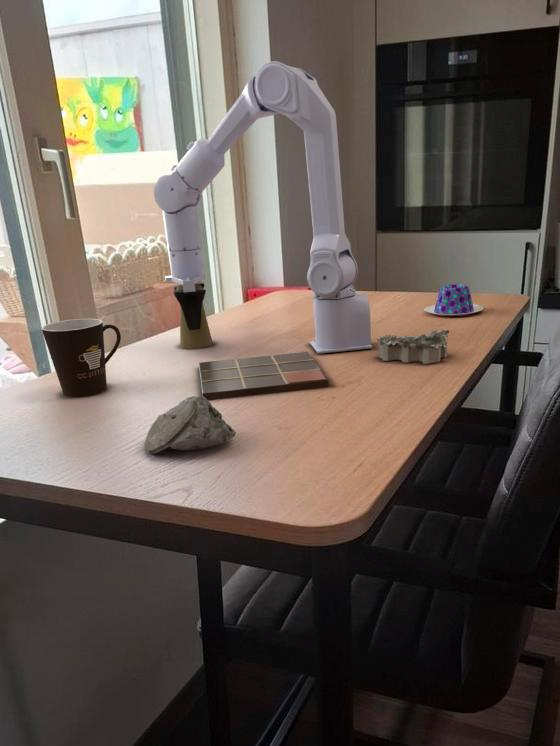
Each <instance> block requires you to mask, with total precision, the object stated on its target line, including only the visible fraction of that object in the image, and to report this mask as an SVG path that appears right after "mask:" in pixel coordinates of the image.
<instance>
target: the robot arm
mask: <svg viewBox="0 0 560 746" xmlns="http://www.w3.org/2000/svg"><path fill="white" fill-rule="evenodd" d="M279 114H281V115H284V116H286V117H287V118H288V119H289V120H290V121H291V122H293V123H294V124H295V125H297V126H298V127H299V128H300V129H301V130H302V131H303V136H304V137H303V138H304V147H305V159H306V168H307V169H306V170H307V179H308V180H307V181H308V191H309V200H310V213H311V223H312V233H313V235H312V236H313V239H312V243H311V247H310V263H309V267H308V270H307V274H306V280H307V284H308V287H309V288H310V290H311V291H312V292H313V293H312V302H313V303H312V304H313V321H314V322H313V323H314V338H315V340H312V341H310V346H311V347H312V348H313V349H314V351H316V353H317V354H329V353H330V354H331V353H339V352H348V351H359V350H369V349H372V348H373V345H372V330H371V329H372V328H371V306H370V301H369V297H368V294H367V293H361V292H360V293H356V289H355V287H354V285H353V284H354V283H355V281H356V279H357V277H358V274H359V273H358V272H359V270H358V269H359V268H358V263H357V261H356V259H355V258H354V256H353V253H352V245H351V242H350V240H349V238H348V236H347V235H346V232H345V231H346V230H345V218H344V216H345V215H344V204H343V191H342V189H343V188H342V177H341V165H340V164H341V163H340V152H339V151H340V150H339V139H338V138H339V137H338V125H337V115H336V111H335V109H334V107H332V105H331V103H330V102H329V100H328V99H327V97H326V96H325V94H324V93H323V90H321V88H320V87H319V83H318V80H317V79H316V78H315V77H313V76H312V75H311V74H309V73H308V72H307V71H306V70H304V69H302V68H300V67H297V66H296V67H295V66H290V65H288V64H285V63H283V62H281V61H277V60H274V61H268V62H266V63H264V64H263V65H261V67H260V68H259V69H258V71H257V73H256V75H253V76H252V77H251V78H250V79H249V80H248V81H247V82H246V85H245V86H244V88H243V90H242V92H241V93H240V95H239V96H238V98H237V99H236V100H235V102H234V103H233V105H232V106H231V107H230V108H229V110H228V112H226V114H225V115H224V117H223V118H222V120H221V121H220V122H219V124H218V125H217V127H216V128H215V129H214V131H213V132H212V133H211V135H210V136H209V138H207V139H206V138H198V139H197V140H196V141H190V142H189V144H187V146H186V149H187V150H188V151H187V152H186V153H185V155H184V156H183V157H182V158H181V160H180V161H179V162H178V163H177V164H174V165H172V167H170V174H164V175H161V176H159V177H158V179H157V181H156V183H155V185H154V188H153V198H154V201H155V203H156V205H157V206H158V207H159V209H161V211H162V217H163V225H164V232H165V240H166V246H167V252H168V261H169V269H170V274H171V275H165V277H164V281H165V282H172V283H174V284H175V283H176V284H179V285H174V286H173V295H174V298H176V301H177V300H178V301H177V302H178V304H179V307H180V306H181V308H182V311H183V314H184V317H185V321H186V324H187V327H188V329H189V330H197V329H200V327H201V311H202V303H203V304H204V300H205V296H206V292H207V290H206V289H205V283H204V282H203V280H205V279H206V274H205V273H204V266H203V258H202V249H201V241H200V240H201V239H200V233H199V225H198V218H197V217H198V214H197V213H198V212H197V208H198V205H199V203H200V201H201V197H202V196H201V195H202V193H203V192H204V190H206V188H207V187H208V186H209V185H210V184H211V183H212V182H213V180H214V179H215V178H216V177H217V176H218V175H219V173H220V172H221V171H222V170H223V169H224V167H225V155H226V153H227V152H228V151H229V150H230V149H231V148H232V147H233V146H234V144H236V142H238V140H239V139H240V138H241V137H242V136H243V135H244V134H245V133H246V132H247V131H248V130H249V129H250V128H251V126H253V124H254V123H256V121H257V120H259V119H262V118H266V117H267V118H268V117H271V116H275V115H279ZM201 281H202V282H201ZM195 284H199V285H201V286H202V288H203V289H204V290H196V289H195ZM181 285H183V290H176V289H177V287H179V286H181ZM203 299H204V300H203Z"/></svg>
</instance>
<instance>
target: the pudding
mask: <svg viewBox="0 0 560 746" xmlns="http://www.w3.org/2000/svg"><path fill="white" fill-rule="evenodd" d="M484 309H485V308H484V306H482V305H480V304H476V303H473V298H472V294H471V289H470V287H469V286H468V285H466V284H460V283H455V284H452V283H451V284H446V285H445V284H444V285H441V287H440V288H439V290H438V294H437V297H436V302H435V304H432V305H429V306H427V307H425V308H424V311H425V312H427V313H430V314H434V315H437V316H442V317H461V316H468V315H471V314H475V313H478V312H481V311H483V310H484Z"/></svg>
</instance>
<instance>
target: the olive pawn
mask: <svg viewBox="0 0 560 746" xmlns="http://www.w3.org/2000/svg"><path fill="white" fill-rule="evenodd" d="M180 285H181V286H179V285H178V286H179V287H177V289H176V290H183V285H182V284H180ZM195 289H196V290H204V289H205V288H204V289H203V288H202V286H201V285H199V284H195ZM204 300H205V298H204V299H203V301H204ZM176 301H177V302H178V300H177V299H176ZM179 331H180V332H179V343H180V344H179V346H180V348H182V349H188V350H189V349H190V350H193V349H203V348H207V347H209V346H212V345H213V339H212V334H211V330H210V327H209V323H208V318H207V315H206V311H205V307H204V302H203V303H202V311H201V327H200V329H197V330H189V329H188V327H187V324H186V321H185V317H184V314H183V311H182V308H181V306H180V305H179Z"/></svg>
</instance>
